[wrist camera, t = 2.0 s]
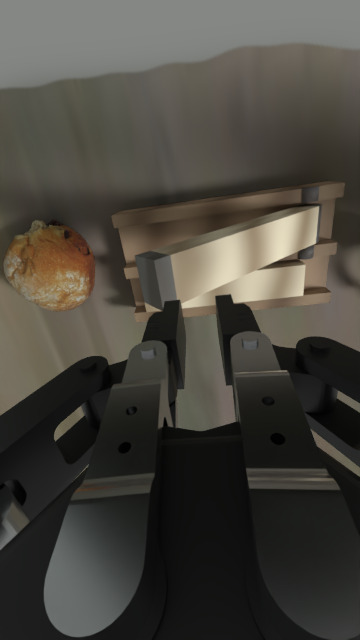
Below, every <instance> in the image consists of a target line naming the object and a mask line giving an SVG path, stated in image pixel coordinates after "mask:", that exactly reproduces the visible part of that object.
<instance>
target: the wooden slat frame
mask: <svg viewBox="0 0 360 640" xmlns="http://www.w3.org/2000/svg"><path fill="white" fill-rule="evenodd" d="M344 188H345V182H330V181H325V182H318V183H311V184H304V185H297V186H290V187H283V188H276V189H269V190H262V191H255V192H248V193H241V194H234V195H227V196H220V197H213V198H207V199H200V200H193V201H186V202H179V203H172V204H165V205H158V206H151V207H144V208H137V209H130V210H123V211H119V212H117V213H116V214H114V215H112V216H111V218H112V222H113V226H114V228H118V230H119V234H120V238H121V243H122V247H123V251H124V256H125V260H126V264H127V265H126V266H125V267H124V272H125V277H126V279H130V282H131V286H132V290H133V295H134V299H135V303H136V310H135V313H134V314H135V319H136V322H143V321H148V319H149V317H150V316H151V315H153V314H154V313H155V312H163V311H161V310H159V309H157V308H155V307H153V306H151V305H149V304H147V303H145V302H144V298H143V293H142V288H141V284H140V279H139V274H138V270H137V265H136V260H135V255H138V254H141V253H144V252H148V251H151V250H154V249H157V248H161V247H164V246H167V245H171V244H174V243H177V242H180V241H184V240H187V239H190V238H193V237H197V236H200V235H203V234H206V233H210V232H213V231H216V230H220V229H223V228H226V227H229V226H233V225H236V224H239V223H242V222H246V221H249V220H252V219H255V218H259V217H262V216H265V215H269V214H272V213H275V212H278V211H282V210H285V209H288V208H291V207H295V206H299V205H304V204H322V211H321V221H320V232H319V242H317V243H316V244H313V245H311V246H309V247H307V248H305V249H302V250H300V251H298V252H296V253H293V254H291V255H289V256H287V257H284V258H282V259H280V260H278V261H276V262H273V263H271V264H269V265H267V266H264V267H262V268H260V269H258V270H255V271H253V272H251V273H249V274H246V275H244V276H242V277H240V278H238V279H235V280H233V281H231V282H229V283H226V284H224V285H222V286H220V287H217V288H215V289H213V290H211V291H209V292H206V293H204V294H202V295H200V296H197V297H195V298H193V299H191V300H188V301H186V302H184V303H182V304H181V305H182V312H183V317H192V316H202V315H212V314H216V304H215V296H217V295H227V294H231V296H232V299H233V302H234V304H239V303H244V304H246V305H247V306H249V307H250V308H251V310H261V309H270V308H280V307H290V306H300V305H309V304H319V303H329V302H330V299H331V292H330V291H329V290H328V289H327V288H326V278H327V270H328V261H329V255H334V254H336V251H337V244H338V242H336V241H334V240H332V239H331V235H332V226H333V218H334V209H335V200H336V198H338V197H343V196H344Z"/></svg>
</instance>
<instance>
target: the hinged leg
mask: <svg viewBox="0 0 360 640" xmlns="http://www.w3.org/2000/svg"><path fill="white" fill-rule="evenodd" d="M321 211H322V204H304V205H299V206H295V207H291V208H288V209H285V210H282V211H278V212H275V213H272V214H269V215H265V216H262V217H259V218H255V219H252V220H249V221H246V222H242V223H239V224H236V225H233V226H229V227H226V228H223V229H220V230H216V231H213V232H210V233H206V234H203V235H200V236H197V237H193V238H190V239H187V240H184V241H180V242H177V243H174V244H171V245H167V246H164V247H161V248H157V249H154V250H151V251H148V252H144V253H141V254H138V255H135V260H136V265H137V270H138V274H139V279H140V284H141V288H142V293H143V298H144V302H145V303H147V304H149V305H151V306H153V307H155V308H157V309H159V310H161V311H163V307H164V302H165V301H171V300H181V304H182V303H184V302H186V301H188V300H191V299H193V298H195V297H197V296H200V295H202V294H204V293H206V292H209V291H211V290H213V289H215V288H217V287H220V286H222V285H224V284H226V283H229V282H231V281H233V280H235V279H238V278H240V277H242V276H244V275H246V274H249V273H251V272H253V271H255V270H258V269H260V268H262V267H264V266H267V265H269V264H271V263H273V262H276V261H278V260H280V259H282V258H284V257H287V256H289V255H291V254H293V253H296V252H298V251H300V250H302V249H305V248H307V247H309V246H311V245H313V244H316V243H317V242H319V232H320V221H321Z"/></svg>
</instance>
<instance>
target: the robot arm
mask: <svg viewBox="0 0 360 640" xmlns="http://www.w3.org/2000/svg"><path fill="white" fill-rule="evenodd" d="M215 304H216V316H217V328H218V337H219V343H220V350H221V356H222V362H223V369H224V375H225V381H226V386H227V385H232V387H233V398H234V409H235V419H236V422H234V423H231V424H227V425H223V426H220V427H216V428H213V429H209V430H206V431H194V430H188V429H181V428H178V414H177V399H176V397H177V389H184V382H185V356H186V333H185V325H184V318H183V312H182V305H181V300H171V301H165V302H164V307H163V312H155V313H154V314H153V315H151V316H150V317H149V319H148V322H147V326H146V330H145V332H144V336H143V339H142V342H141V343H140V344H138V345H136V346H135V347H133V348H132V349H131V351H130V353H129V357H128V359H127V360H125V361H122V362H119V363H115V364H112V365H109V364H108V361H107V359H106V358H104V357H102V356H91V357H87V358H84V359H82V360H80V361H78V362H76V363H75V364H73V365H72V366H70V367H69V368H68V369H66V370H65V371H63V372H62V373H60V374H59V375H58V376H56V377H55V378H53V379H52V380H51V381H49V382H48V383H46V384H45V385H43V386H42V387H41V388H39V389H38V390H36V391H35V392H33V393H32V394H31V395H29V396H28V397H26V398H25V399H24V400H22V401H21V402H19V403H18V404H16V405H15V406H14V407H12V408H11V409H9V410H8V411H6V412H5V413H4V414H2V415H1V416H0V640H360V477H359V476H358V475H356V474H355V473H353V472H352V471H351V470H349V469H348V468H346V467H345V466H344V465H342V464H341V463H340V462H338V461H337V460H335V459H334V458H333V457H331V456H330V455H329V454H327V453H326V452H324V451H323V450H322V449H320V448H319V447H317V444H316V442H315V439H314V436H313V434H312V431H311V429H312V430H313V431H314V432H316V433H317V434H318V435H319V436H321V437H322V438H323V439H324V440H326V441H327V442H328V443H330V444H331V445H332V446H333V447H335V448H336V449H337V450H338V451H340V452H341V453H342V454H344V455H345V456H346V457H347V458H349V459H350V460H351V461H352V462H354V463H355V464H356V465H357V466H359V467H360V413H359V412H358V411H356V410H355V409H353V408H351V407H350V406H348V405H347V404H345V403H343V402H342V401H340V400H339V399H337V393H338V390H339V391H340V392H342V393H344V394H345V395H347V396H349V397H350V398H352V399H354V400H355V401H357V402H359V403H360V352H359V351H357V350H354V349H352V348H350V347H348V346H345V345H343V344H341V343H339V342H337V341H334V340H332V339H329V338H325V337H307V338H303V339H301V340H299V341H298V343H297V345H296V348H286V347H279V346H276V345H273V344H272V343H271V341H270V339H269V337H268V336H266V335H265V334H263V333H261V331H260V329H259V327H258V324H257V322H256V320H255V317H254V315H253V313H252V310H251V308H250V307H249V306H247V305H246V304H244V303H239V304H234V302H233V299H232V296H231V294H227V295H217V296H215ZM80 406H81V407H82V409H83V412H84V414H85V416H84V417H82V418H81V419H80V420H79V421H78V422H77V423H76V424H75V425H74V426H72V427H71V428H70V429H69V430H68V431H67V432H66V433H65V434H63V435H62V436H61V437H60V438H59V439H58V440H57V441H56V442H55V440H54V432H55V430H56V428H57V426H58V425H59V424H60V423H61V422H62V421H63V420H64V419H66V418H67V417H68V416H69V415H70V414H71V413H73V412H74V411H75V410H76V409H77V408H78V407H80ZM310 428H311V429H310ZM88 464H89V465H88ZM87 465H88V467H87V468H86V469H85V470H84V468H85V467H86V466H87ZM83 470H84V471H83ZM82 471H83V472H82ZM81 472H82V473H81ZM80 473H81V474H80ZM79 474H80V475H79ZM78 475H79V476H78ZM77 476H78V477H77ZM76 477H77V478H76ZM75 478H76V479H75ZM74 479H75V480H74ZM73 480H74V481H73ZM72 481H73V482H72ZM71 482H72V483H71Z"/></svg>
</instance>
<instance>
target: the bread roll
mask: <svg viewBox="0 0 360 640" xmlns="http://www.w3.org/2000/svg"><path fill="white" fill-rule="evenodd" d="M3 266H4V274H5V277H6V278H7V280H8V281H9V283H10V284H11V285H12V286H13V288H14V289H15V290H16V291H17V292H18V293H19V294H20V295H21V296H22V297H24V298H26V299H27V300H29V301H30V302H33V303H36V304H37V305H38V306H40V307H42V308H44V309H47V310H51V311H67V310H71V309H74V308H76V307H78V306H79V305H81V304H82V303H83V302H85V301H86V299H87V298H88V297H89V296H90V294H91V291H92V290H93V287H94V279H95V258H94V255H93V252H92V250H91V248H90V247H89V246H88V244H87V242H86V241H85V239H84V238H83V237H82V236H81V235H80V234H78V233H77V232H75V231H74V230H73V229H71V228H69V227H67V226H64V225H63V224H60V223H59V222H58V221H57V220H55V219H54V220H52V221H51V222H50V223H48V225H46V224H45V223H44V222H43V221H42V220H41V221H39V220H35V221H34V222H32V225H31V228H30V229H29V232H26V233H24V234H20V235H15V238H14V240H13V242H12V243H11V244H10V245H9V247H8V249H7V252H6V254H5V257H4V261H3Z"/></svg>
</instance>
